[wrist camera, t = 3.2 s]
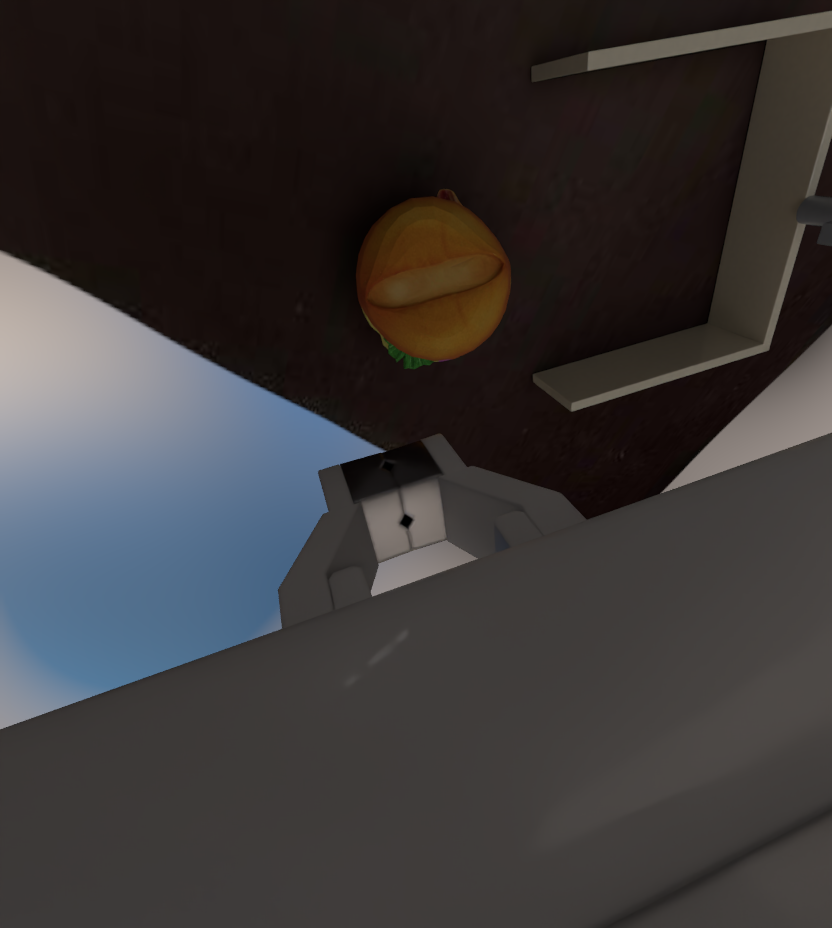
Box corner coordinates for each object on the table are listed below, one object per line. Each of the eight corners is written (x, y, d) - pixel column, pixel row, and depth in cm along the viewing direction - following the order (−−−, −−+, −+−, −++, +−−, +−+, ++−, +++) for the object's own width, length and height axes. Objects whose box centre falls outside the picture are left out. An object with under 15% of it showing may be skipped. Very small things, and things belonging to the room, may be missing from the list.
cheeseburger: (429, 381, 39) (453, 422, 30) (322, 287, 35) (313, 301, 26) (519, 281, 37) (574, 292, 28) (415, 169, 33) (440, 139, 24)
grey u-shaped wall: (532, 382, 42) (621, 450, 33) (530, 66, 30) (673, 29, 20) (716, 327, 46) (845, 375, 36) (784, 23, 33) (1009, -26, 24)
